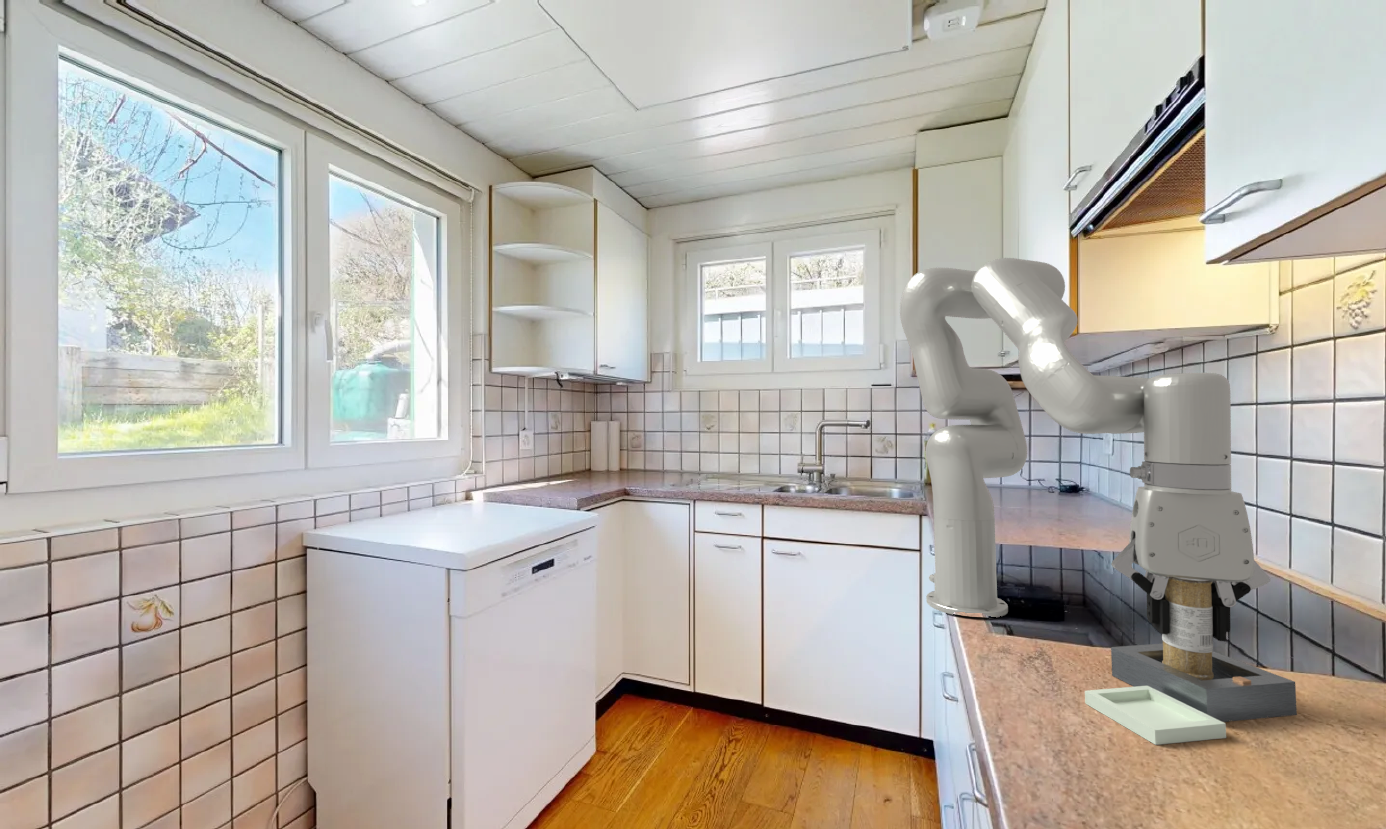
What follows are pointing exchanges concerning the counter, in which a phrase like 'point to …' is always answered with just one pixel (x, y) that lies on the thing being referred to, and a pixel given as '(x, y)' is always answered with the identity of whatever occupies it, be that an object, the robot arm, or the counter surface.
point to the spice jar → (1189, 627)
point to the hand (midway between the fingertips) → (1187, 631)
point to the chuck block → (1209, 684)
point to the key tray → (1155, 715)
